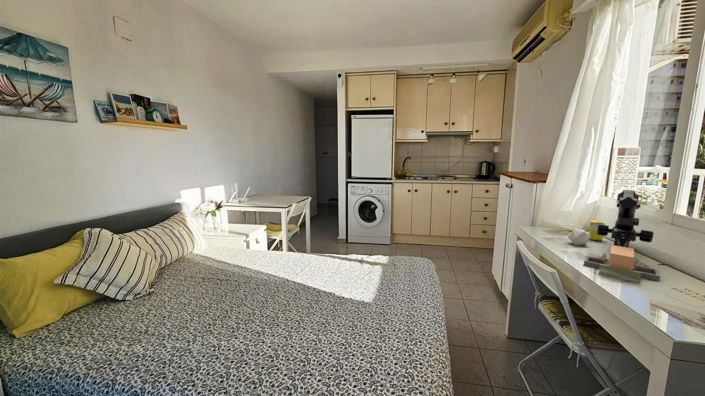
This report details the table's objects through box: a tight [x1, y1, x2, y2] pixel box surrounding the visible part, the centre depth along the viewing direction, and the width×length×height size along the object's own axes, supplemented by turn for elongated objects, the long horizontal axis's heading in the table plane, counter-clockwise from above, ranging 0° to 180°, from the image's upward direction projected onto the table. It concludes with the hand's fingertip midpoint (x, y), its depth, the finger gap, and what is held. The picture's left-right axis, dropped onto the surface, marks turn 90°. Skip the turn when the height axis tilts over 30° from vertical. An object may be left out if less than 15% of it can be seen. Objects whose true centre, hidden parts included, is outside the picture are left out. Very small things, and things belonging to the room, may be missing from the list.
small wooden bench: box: [598, 252, 642, 284], centre depth 123 cm, size 27×12×4 cm, turn 136°
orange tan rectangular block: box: [608, 244, 635, 270], centre depth 120 cm, size 15×7×9 cm, turn 136°
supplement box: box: [588, 219, 605, 243], centre depth 164 cm, size 6×6×11 cm
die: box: [567, 229, 590, 246], centre depth 156 cm, size 8×9×10 cm
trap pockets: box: [583, 255, 661, 282], centre depth 122 cm, size 9×23×2 cm, turn 46°
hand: (621, 248), depth 129 cm, fingers closed
